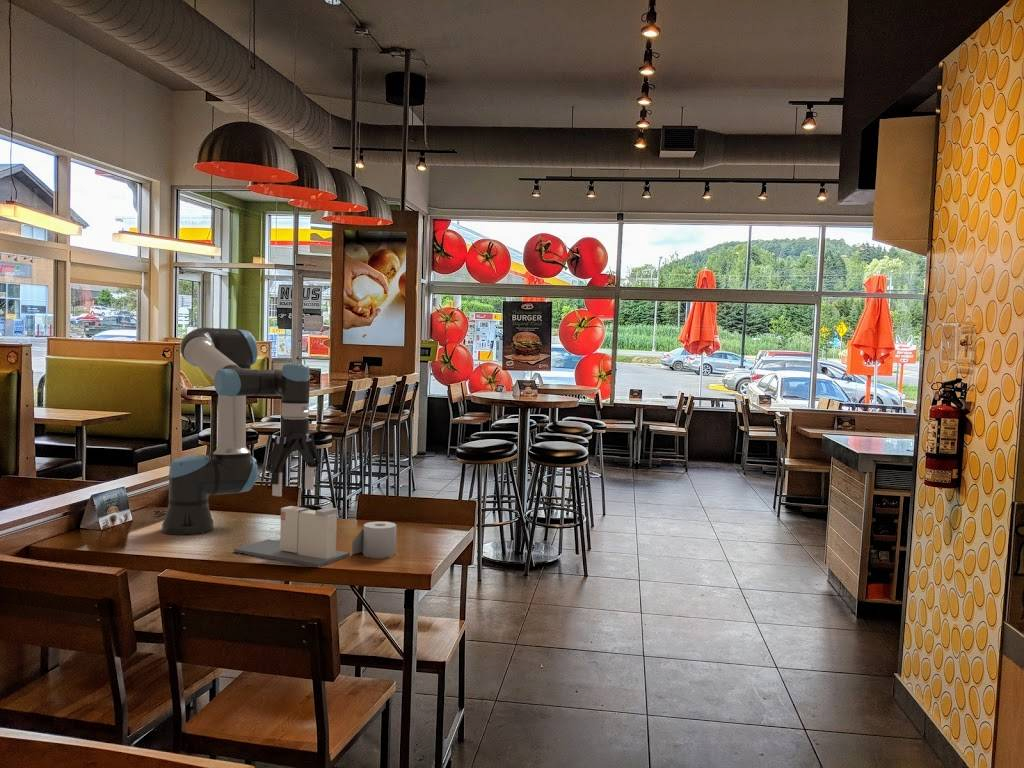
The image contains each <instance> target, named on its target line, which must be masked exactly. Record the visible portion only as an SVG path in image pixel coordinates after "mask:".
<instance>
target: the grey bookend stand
mask: <svg viewBox="0 0 1024 768" xmlns="http://www.w3.org/2000/svg"><path fill="white" fill-rule="evenodd" d="M338 513H339V509H338V508H336V507H324V508H323V509H321V510H317V511H315V510H309V508H307V509H303V510H299V536H298V553H294V552H288V551H283V550H280V540H276V539H275V540H274V539H267V538H266V539H263V540H261V541H257V542H253V543H250V544H247V545H243V546H239V547H235V548H233V552H234V551H235V552H239V553H238V554H240V553H245V554H244V555H246V554H248V555H247V556H251V555H254V556H253V557H257V556H260V557H259V558H262V557H265V558H264V559H268V558H270V559H269V560H273V559H275V561H280V562H284V563H291V564H295V563H297V564H296V565H301V564H304V565H303V566H307V565H309V566H308V567H312V566H313V568H320V567H319V566H321V567H323V566H325V565H324V564H326V565H328V564H327V563H329V564H331V563H330V562H332V563H334V562H333V561H335V562H337V561H340V560H342V558H343V559H345V557H346V558H348V556H349V557H350V553H351V552H347V551H341V550H337V528H338V527H337V525H338V523H337V522H338ZM339 559H340V560H339ZM336 560H337V561H336ZM322 565H323V566H322Z"/></svg>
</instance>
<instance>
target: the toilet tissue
mask: <svg viewBox="0 0 1024 768" xmlns="http://www.w3.org/2000/svg"><path fill="white" fill-rule="evenodd" d="M351 548H352V549H351V553H352V554H353V555H355V554H360V553H362V555H363V557H365V556H366V557H365V558H369V557H371V558H370V559H386V558H385V557H388V558H391V557H390V556H392V557H394V556H395V555H394V554H396V555H397V524H396V523H394V522H390V521H377V520H376V521H369V522H365V523H363V528H362V529H361V530H360V531H359V533H358V534H357V535H356V536H355V538H354V539H353V540H352V541H351ZM352 554H351V555H352ZM393 555H394V556H393Z"/></svg>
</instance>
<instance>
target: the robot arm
mask: <svg viewBox="0 0 1024 768" xmlns="http://www.w3.org/2000/svg"><path fill="white" fill-rule="evenodd" d="M179 349H180V354H181V356H182V358H183V359H184V361H186V362H187V363H188V364H189V365H191V366H194V367H198V368H199V369H200V370H201V371H203V372H204V373H205V374H206V375H208V376H209V377H210V378H211V379H212V380H213V388H214V389H215V392H216V394H217V395H218V396H217V397H218V398H217V400H218V401H217V403H218V404H217V406H218V407H217V409H218V411H217V421H218V422H217V426H218V427H217V431H218V432H217V433H218V434H217V435H218V436H217V439H218V440H217V446H218V447H217V449H215V451H213V452H212V453H213V454H212V455H213V456H212V458H210V456H209V455H207V454H197V455H196V454H191V455H186V456H185V455H184V456H182V457H181V456H180V457H178V458H175V459H173V460H172V461H171V462H170V464H169V472H168V506H167V507H168V508H167V510H166V513H165V516H164V520H163V522H162V523H161V531H162V533H164V534H168V535H175V536H176V535H177V536H183V534H190V535H197V534H196V533H199V534H203V533H202V532H205V533H207V531H208V532H210V530H211V531H213V530H214V526H215V525H214V520H213V517H212V513H211V510H210V506H209V496H216V495H226V494H227V495H228V494H239V493H245V492H249V491H251V490H252V489H253V487H254V486H255V483H256V481H257V478H258V463H257V461H258V460H257V459H256V458H255V457H254V456H252V453H251V450H250V449H248V447H247V441H246V440H247V439H246V438H247V433H246V431H247V426H246V425H247V423H246V422H247V416H246V414H247V410H246V409H247V406H246V405H247V403H246V402H247V397H249V396H254V397H255V396H257V397H258V396H260V397H261V396H264V397H268V396H269V397H270V396H271V397H272V396H276V397H277V396H279V397H281V412H280V413H281V417H282V419H281V420H280V421H281V422H280V423H281V425H280V427H281V428H280V430H281V432H282V433H283V435H282V436H278V435H277V436H275V437H274V443H273V444H274V445H273V447H272V450H271V453H270V455H269V457H268V461H267V463H266V466H265V470H266V471H267V472H268V473H271V485H272V486H271V487H272V493H271V495H272V496H274V497H282V496H283V472H281V470H282V468H283V467H284V465H285V464H286V462H287V460H288V458H289V456H290V455H291V454H292V453H293V452H296V451H298V452H299V454H300V456H301V457H302V459H303V461H304V462H305V464H306V465H307V466H305V469H304V490H311V491H313V490H314V489H315V476H316V468H319V465H320V464H321V459H320V456H319V451H318V450H317V446H316V443H315V435H314V434H313V433H310V432H309V429H310V428H309V426H310V425H309V424H310V420H309V419H308V417H310V416H309V415H310V411H309V410H310V407H309V405H310V404H309V403H310V389H311V388H310V387H311V385H310V384H311V381H310V380H311V376H310V366H309V364H305V363H285V364H284V365H282V369H252V368H251V367H252V366H253V365H255V364H256V362H257V358H258V354H259V351H258V350H259V349H258V344H257V341H256V338H255V337H254V335H253V334H252V332H250V331H249V330H245V329H239V328H221V327H220V328H219V327H218V328H217V327H216V328H215V327H214V328H213V327H199V328H196V329H193V330H191V331H189V332H188V333H186V335H185V336H184V337H183V339H182V340H181V342H180V347H179ZM212 529H213V530H212Z"/></svg>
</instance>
